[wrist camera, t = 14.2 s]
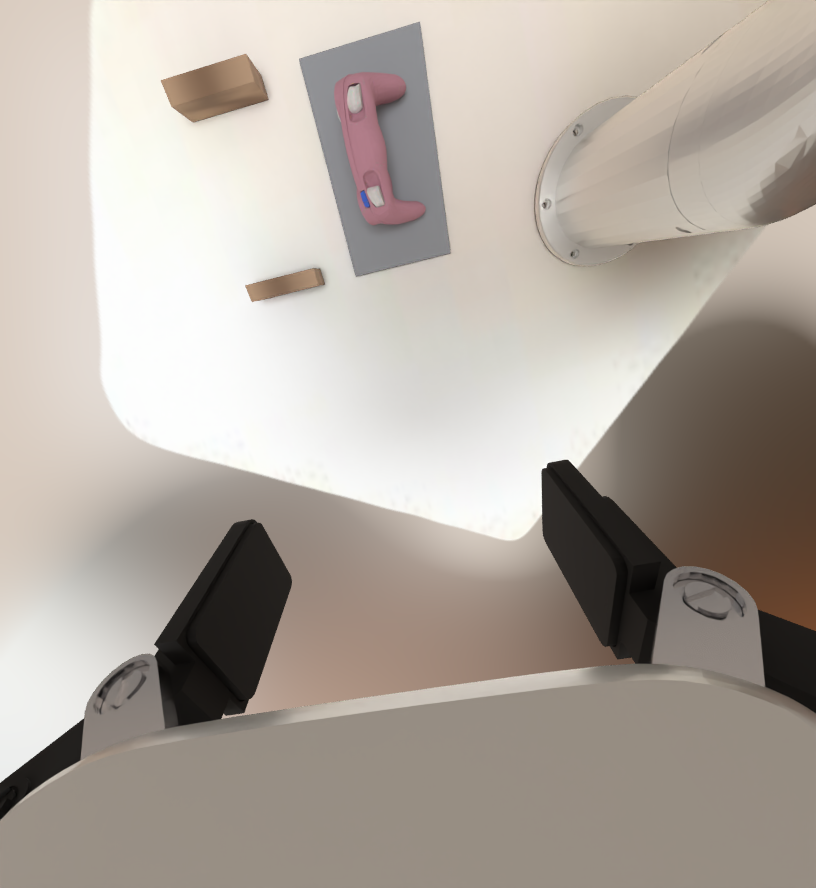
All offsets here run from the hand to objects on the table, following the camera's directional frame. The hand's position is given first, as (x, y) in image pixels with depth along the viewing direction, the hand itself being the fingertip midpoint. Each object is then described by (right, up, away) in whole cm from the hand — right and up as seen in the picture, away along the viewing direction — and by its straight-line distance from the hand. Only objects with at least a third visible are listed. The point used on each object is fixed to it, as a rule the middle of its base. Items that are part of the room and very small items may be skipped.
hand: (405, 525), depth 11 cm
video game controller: (-2, +28, +19) cm, 34 cm away
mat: (-2, +28, +19) cm, 34 cm away
